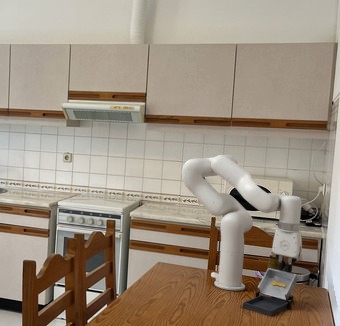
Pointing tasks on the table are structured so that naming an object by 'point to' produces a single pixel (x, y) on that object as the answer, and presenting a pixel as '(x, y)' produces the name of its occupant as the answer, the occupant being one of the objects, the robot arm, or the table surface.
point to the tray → (265, 305)
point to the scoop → (277, 290)
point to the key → (278, 284)
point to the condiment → (273, 263)
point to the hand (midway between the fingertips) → (285, 272)
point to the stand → (282, 300)
